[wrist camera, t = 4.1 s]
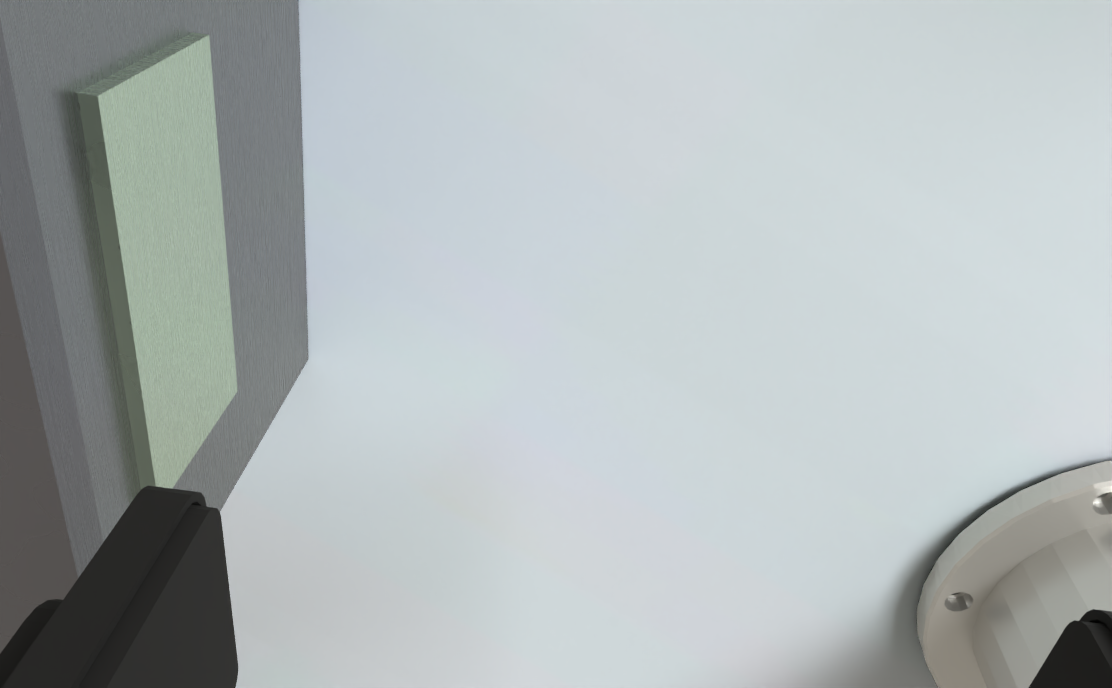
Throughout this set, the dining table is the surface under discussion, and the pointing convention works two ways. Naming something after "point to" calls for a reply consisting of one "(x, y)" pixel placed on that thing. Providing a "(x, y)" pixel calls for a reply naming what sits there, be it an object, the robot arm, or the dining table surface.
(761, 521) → the dining table surface
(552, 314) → the dining table surface
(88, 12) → the charcoal unit
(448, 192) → the dining table surface
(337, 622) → the dining table surface
